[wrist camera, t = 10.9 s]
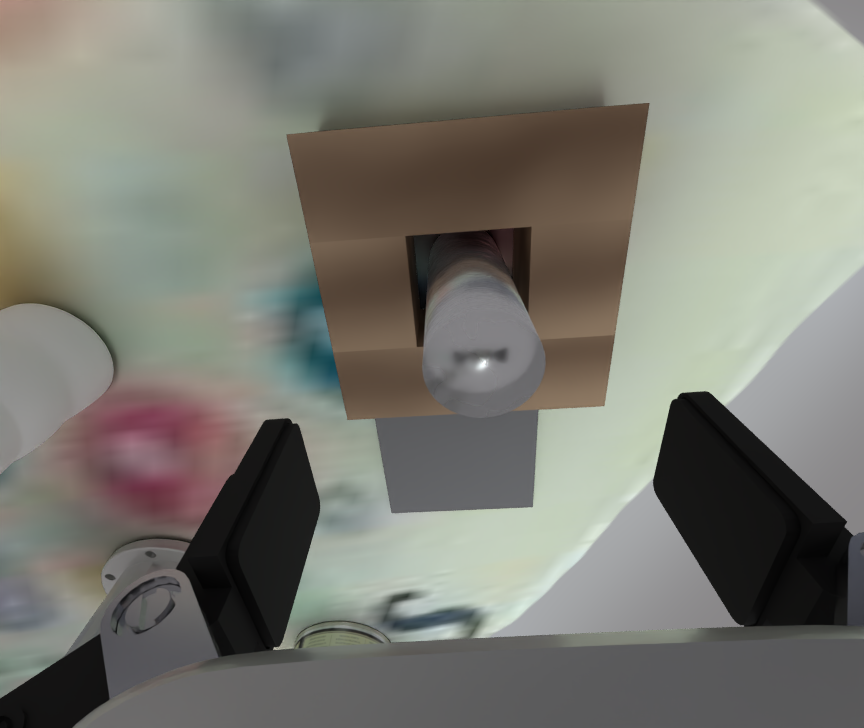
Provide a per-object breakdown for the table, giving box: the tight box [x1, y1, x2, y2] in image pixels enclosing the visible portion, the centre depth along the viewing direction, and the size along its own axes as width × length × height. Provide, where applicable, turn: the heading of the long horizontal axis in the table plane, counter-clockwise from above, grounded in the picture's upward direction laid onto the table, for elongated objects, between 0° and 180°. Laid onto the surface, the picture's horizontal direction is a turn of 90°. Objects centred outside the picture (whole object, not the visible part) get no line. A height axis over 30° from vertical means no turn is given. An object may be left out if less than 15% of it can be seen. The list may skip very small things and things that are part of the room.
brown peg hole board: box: [287, 103, 649, 420], centre depth 22 cm, size 14×14×5 cm
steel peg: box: [422, 230, 546, 418], centre depth 19 cm, size 4×4×12 cm
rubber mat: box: [375, 410, 538, 513], centre depth 31 cm, size 11×11×1 cm
